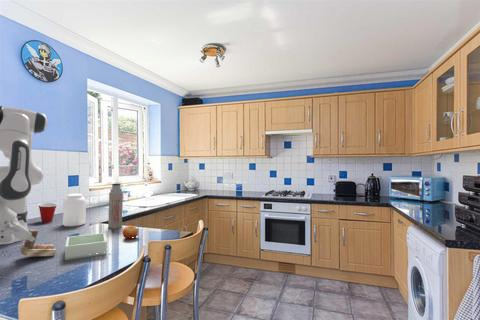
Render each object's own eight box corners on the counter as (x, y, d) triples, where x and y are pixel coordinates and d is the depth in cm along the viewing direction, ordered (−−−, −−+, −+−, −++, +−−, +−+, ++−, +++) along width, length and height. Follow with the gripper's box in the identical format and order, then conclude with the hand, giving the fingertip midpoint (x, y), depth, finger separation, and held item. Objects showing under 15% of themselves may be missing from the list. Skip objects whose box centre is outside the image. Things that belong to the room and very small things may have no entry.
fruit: (131, 232, 152) (135, 221, 149) (137, 242, 147) (141, 231, 145) (117, 235, 146) (121, 224, 143) (123, 245, 141) (127, 234, 139)
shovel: (24, 256, 109) (32, 232, 110) (19, 251, 114) (27, 228, 116) (54, 255, 117) (61, 233, 119) (48, 251, 122) (55, 229, 124)
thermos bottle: (120, 228, 165) (121, 184, 166) (107, 228, 163) (108, 184, 163) (122, 225, 173) (123, 183, 173) (109, 225, 171) (110, 183, 171)
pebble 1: (37, 245, 114) (45, 243, 117) (35, 246, 116) (44, 243, 119) (38, 253, 114) (47, 250, 116) (37, 253, 116) (46, 250, 119)
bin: (64, 260, 112) (65, 246, 112) (67, 249, 126) (67, 236, 126) (106, 254, 120) (106, 241, 120) (104, 244, 134) (104, 232, 134)
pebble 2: (44, 248, 116) (51, 243, 118) (43, 247, 119) (51, 242, 121) (48, 253, 117) (56, 248, 119) (48, 253, 119) (55, 248, 121)
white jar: (89, 222, 178) (90, 193, 178) (76, 227, 165) (77, 195, 165) (72, 221, 179) (73, 192, 179) (57, 226, 166) (58, 195, 166)
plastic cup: (49, 223, 172) (49, 205, 172) (33, 223, 172) (33, 205, 172) (60, 219, 183) (61, 202, 183) (45, 219, 183) (46, 202, 183)
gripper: (16, 218, 101) (45, 238, 109) (5, 210, 114) (32, 228, 122) (0, 231, 98) (32, 251, 106) (-9, 222, 111) (20, 239, 119)
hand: (32, 238), depth 114 cm, fingers closed on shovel, 3 cm apart
